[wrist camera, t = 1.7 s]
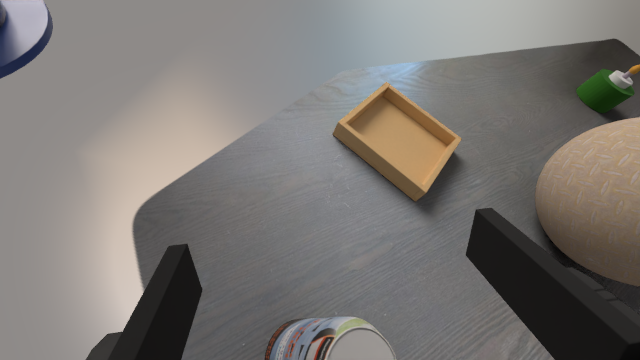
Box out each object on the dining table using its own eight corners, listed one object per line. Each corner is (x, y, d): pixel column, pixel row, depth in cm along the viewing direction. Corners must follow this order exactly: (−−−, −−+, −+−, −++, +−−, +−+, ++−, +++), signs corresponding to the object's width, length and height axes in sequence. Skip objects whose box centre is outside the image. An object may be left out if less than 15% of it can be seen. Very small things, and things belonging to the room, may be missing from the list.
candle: (590, 87, 72) (637, 53, 64) (613, 112, 68) (666, 79, 60) (569, 87, 69) (616, 50, 61) (593, 113, 65) (646, 78, 57)
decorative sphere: (481, 223, 39) (663, 130, 23) (522, 153, 50) (666, 55, 34) (611, 338, 36) (941, 325, 19) (626, 236, 46) (846, 171, 30)
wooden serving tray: (332, 134, 40) (338, 121, 38) (379, 93, 48) (386, 81, 46) (415, 201, 38) (426, 193, 36) (451, 148, 46) (462, 138, 44)
